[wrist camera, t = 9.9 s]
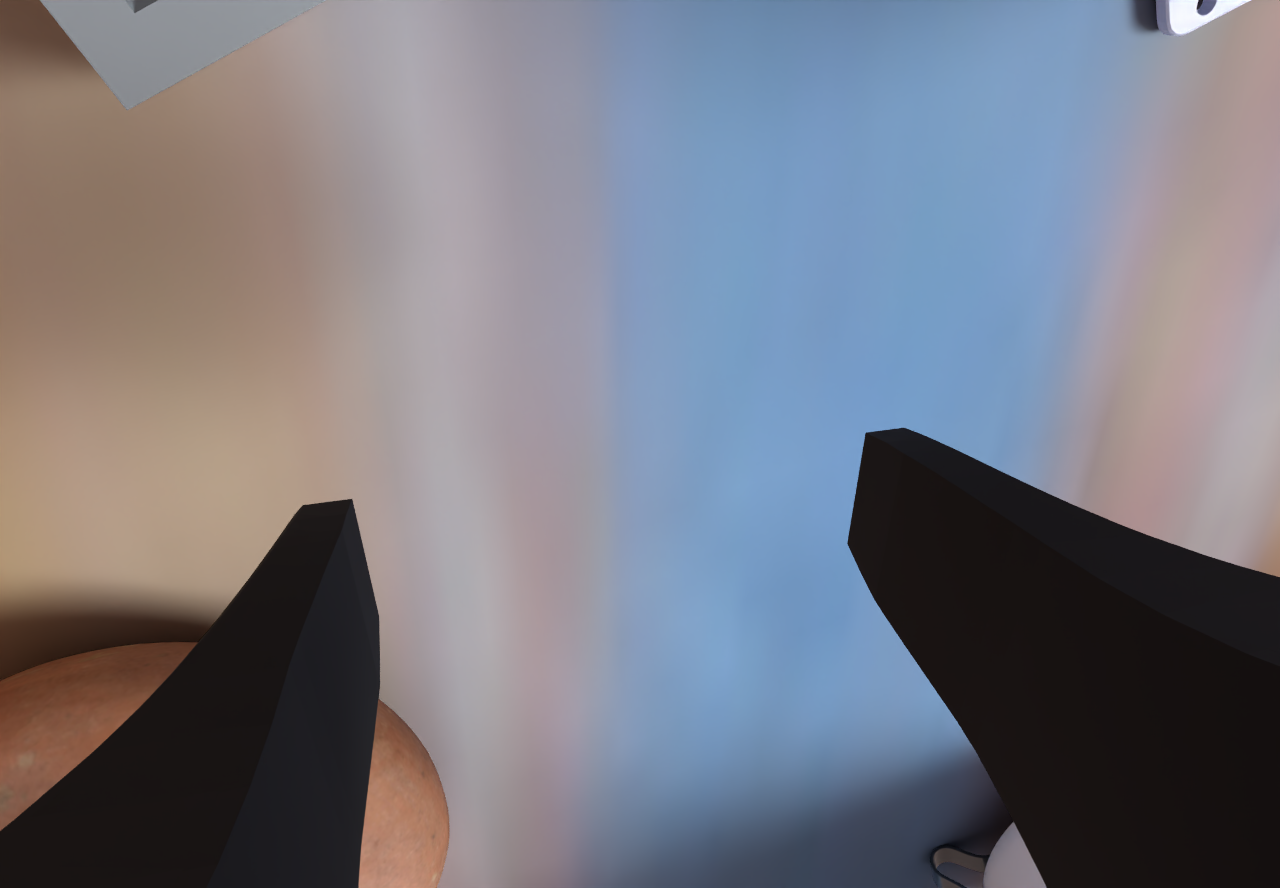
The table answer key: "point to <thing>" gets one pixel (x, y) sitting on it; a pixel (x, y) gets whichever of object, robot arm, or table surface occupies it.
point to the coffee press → (992, 864)
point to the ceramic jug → (128, 675)
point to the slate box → (164, 36)
